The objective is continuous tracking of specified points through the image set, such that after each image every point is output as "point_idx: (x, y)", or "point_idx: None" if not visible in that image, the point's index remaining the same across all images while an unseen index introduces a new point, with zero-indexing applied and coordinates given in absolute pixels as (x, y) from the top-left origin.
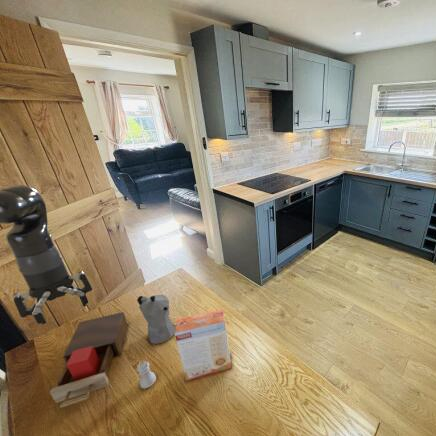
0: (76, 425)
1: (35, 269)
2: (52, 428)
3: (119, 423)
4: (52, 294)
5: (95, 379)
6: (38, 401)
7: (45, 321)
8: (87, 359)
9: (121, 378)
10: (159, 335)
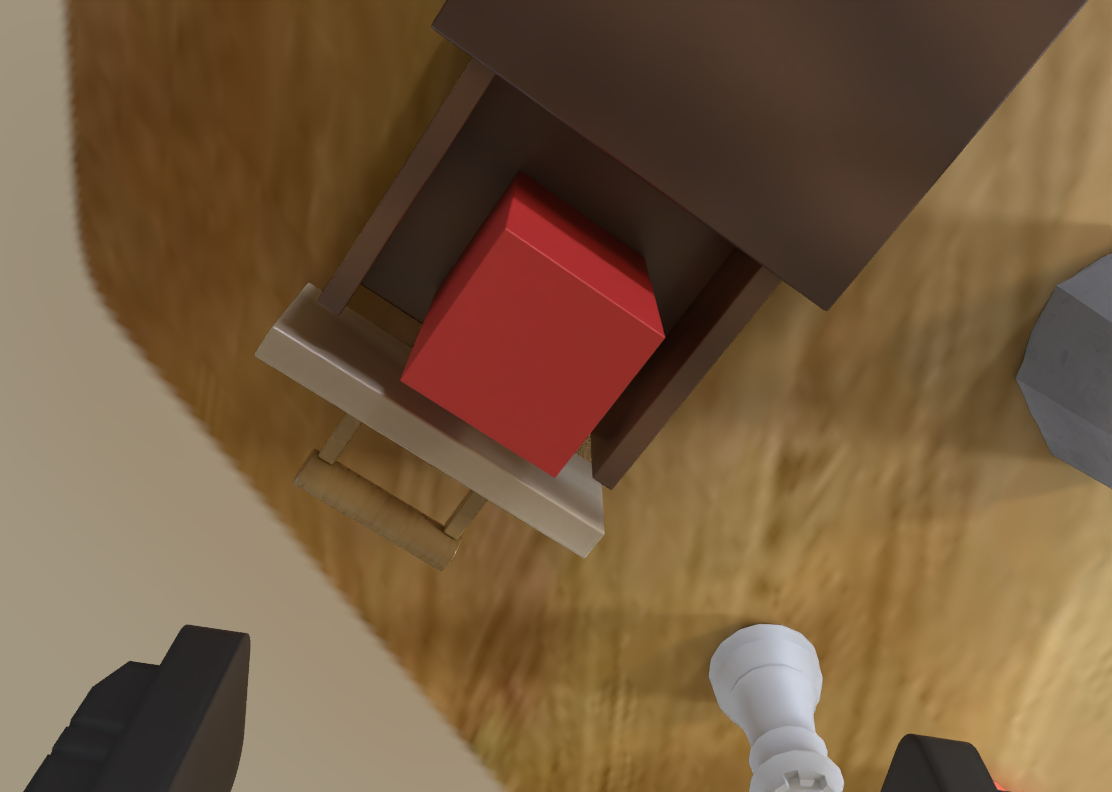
0: (347, 556)
1: None
2: (241, 453)
3: (513, 744)
4: None
5: (531, 521)
6: (206, 134)
7: (228, 779)
8: (552, 475)
9: (672, 482)
10: (1106, 485)
